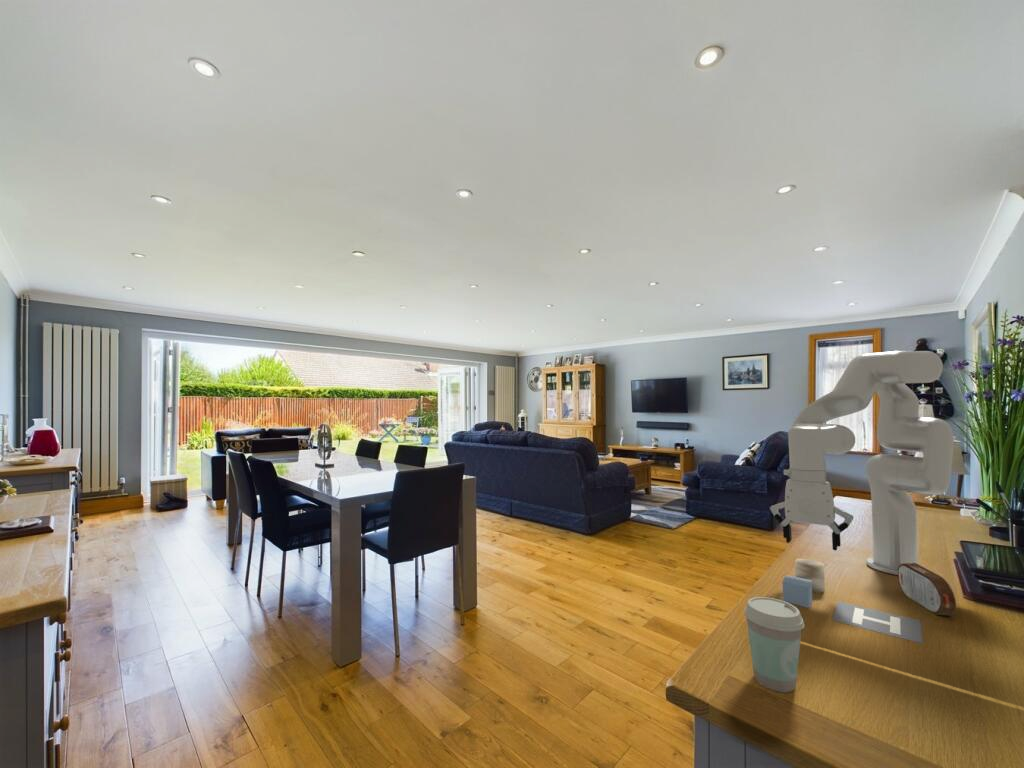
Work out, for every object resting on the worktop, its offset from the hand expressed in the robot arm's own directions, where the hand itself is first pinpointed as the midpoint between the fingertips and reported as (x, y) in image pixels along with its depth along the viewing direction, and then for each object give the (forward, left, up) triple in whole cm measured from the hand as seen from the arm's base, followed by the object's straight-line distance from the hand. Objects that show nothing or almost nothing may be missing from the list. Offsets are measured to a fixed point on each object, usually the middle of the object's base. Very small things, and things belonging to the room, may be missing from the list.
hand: (811, 544), depth 111 cm
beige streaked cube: (+1, 0, -11) cm, 11 cm away
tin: (-5, +21, -11) cm, 24 cm away
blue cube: (+12, -1, -11) cm, 16 cm away
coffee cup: (+49, +1, -11) cm, 50 cm away
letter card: (+12, +13, -11) cm, 20 cm away
